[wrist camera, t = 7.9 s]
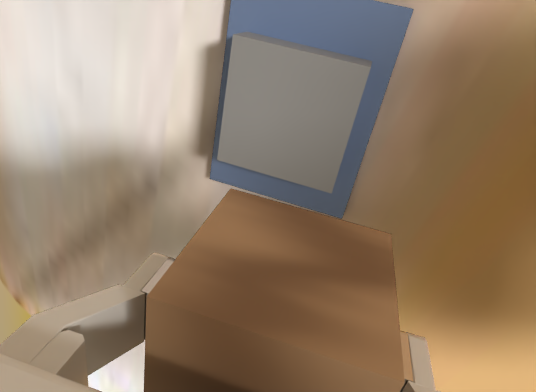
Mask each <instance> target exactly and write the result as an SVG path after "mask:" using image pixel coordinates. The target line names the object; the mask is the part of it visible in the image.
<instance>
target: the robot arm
mask: <svg viewBox="0 0 536 392" xmlns="http://www.w3.org/2000/svg"><path fill="white" fill-rule="evenodd" d="M174 261H175V259H174V258H171V257H167V256H164V255H161V254H158V253H156V252H155V253H153V254H151V255H150V256H149V257H148V258H147V259H146V261H145V262H144V263H143V264H142V265H141V266H140V267H139V268H138V269H137V271H136V272H135V273H134V274H133V275H132V276H131V277H130V278H129V279H128V281H127V282H126V283H125V284H124V285H123V286H122V285H119V284H118V285H115V286H112V287H109V288H107V289H104V290H101V291H98V292H96V293H93V294H90V295H87V296H84V297H82V298H79V299H76V300H73V301H71V302H68V303H65V304H62V305H60V306H57V307H54V308H51V309H49V310H46V311H43V312H40V313H38V314H35V315H32V316H31V317H30V318H29V319H28V320H27V321H26V322H25V323H24V324H22V325H21V326H20V327H19V328H18V329H17V330H16V331H15V332H14V333H12V334H11V335H10V336H9V337H8V338H7V339H6V340H5V341H4V342H2V343H1V344H0V392H101V391H99V390H96V389H93V388H91V387H88V375H90V374H91V373H93V372H95V371H96V370H98V369H100V368H101V367H103V366H104V365H106V364H108V363H109V362H111V361H113V360H114V359H116V358H118V357H119V356H121V355H122V354H124V353H126V352H127V351H129V350H131V349H132V348H134V347H136V346H137V345H139V344H141V343H142V342H144V340H145V336H146V302H147V295H148V294H149V293H150V291H151V290H152V289H153V288H154V286H155V285H156V284H157V282H158V281H159V280H160V279H161V277H162V276H163V275H164V273H165V272H166V271H167V270H168V268H169V267H170V266H171V264H172V263H173V262H174ZM400 336H401V347H402V358H403V369H404V380H405V383H404V385H403V386H402V388H401V390H400V392H440V391H438V390H436V389H435V383H434V378H433V372H432V366H431V361H430V355H429V350H428V344H427V340H426V339H425V338H424V337H421V336H418V335H414V334H411V333H408V332H404V331H400Z"/></svg>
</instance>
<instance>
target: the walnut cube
mask: <svg viewBox="0 0 536 392" xmlns="http://www.w3.org/2000/svg"><path fill="white" fill-rule="evenodd" d="M404 383H405V380H404V369H403V358H402V347H401V336H400V325H399V315H398V304H397V293H396V282H395V271H394V260H393V250H392V239H391V234H389V233H386V232H382V231H379V230H375V229H372V228H368V227H365V226H361V225H358V224H354V223H351V222H347V221H344V220H340V219H336V218H333V217H329V216H326V215H322V214H319V213H315V212H312V211H308V210H305V209H301V208H298V207H294V206H291V205H287V204H284V203H280V202H277V201H273V200H270V199H266V198H263V197H259V196H256V195H252V194H248V193H245V192H241V191H238V190H234V189H230V190H229V191H228V193H227V194H226V195H225V197H224V198H223V199H222V200H221V202H220V203H219V204H218V205H217V207H216V208H215V209H214V211H213V212H212V213H211V214H210V216H209V217H208V218H207V220H206V221H205V222H204V223H203V225H202V226H201V227H200V229H199V230H198V231H197V232H196V234H195V235H194V236H193V238H192V239H191V240H190V241H189V243H188V244H187V245H186V247H185V248H184V249H183V250H182V252H181V253H180V254H179V256H178V257H177V258H176V259H175V261H174V262H173V263H172V264H171V266H170V267H169V268H168V270H167V271H166V272H165V273H164V275H163V276H162V277H161V279H160V280H159V281H158V282H157V284H156V285H155V286H154V288H153V289H152V290H151V291H150V293H149V294H148V295H147V302H146V336H145V370H144V392H400V390H401V388H402V386H403V385H404Z"/></svg>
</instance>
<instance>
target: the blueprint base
mask: <svg viewBox="0 0 536 392" xmlns="http://www.w3.org/2000/svg"><path fill="white" fill-rule="evenodd" d="M412 12H413V9H411V8H407V7H402V6H397V5H393V4H388V3H383V2H378V1H374V0H231V5H230V13H229V22H228V30H227V38H226V47H225V55H224V64H223V72H222V80H221V89H220V97H219V105H218V114H217V122H216V131H215V139H214V147H213V156H212V164H211V172H210V179H212V180H215V181H219V182H222V183H225V184H229V185H232V186H235V187H239V188H242V189H245V190H248V191H252V192H255V193H258V194H262V195H265V196H268V197H272V198H275V199H278V200H282V201H285V202H288V203H291V204H295V205H298V206H301V207H305V208H308V209H311V210H315V211H318V212H321V213H325V214H328V215H331V216H334V217H338V218H341V219H342V218H343V215H344V212H345V209H346V206H347V203H348V200H349V197H350V194H351V191H352V188H353V185H354V182H355V179H356V176H357V174H358V171H359V168H360V165H361V162H362V159H363V156H364V153H365V150H366V147H367V144H368V141H369V138H370V135H371V133H372V130H373V127H374V124H375V121H376V118H377V115H378V112H379V109H380V106H381V103H382V100H383V97H384V94H385V92H386V89H387V86H388V83H389V80H390V77H391V74H392V71H393V68H394V65H395V62H396V59H397V56H398V53H399V50H400V48H401V45H402V42H403V39H404V36H405V33H406V30H407V27H408V24H409V21H410V18H411V15H412Z"/></svg>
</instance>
